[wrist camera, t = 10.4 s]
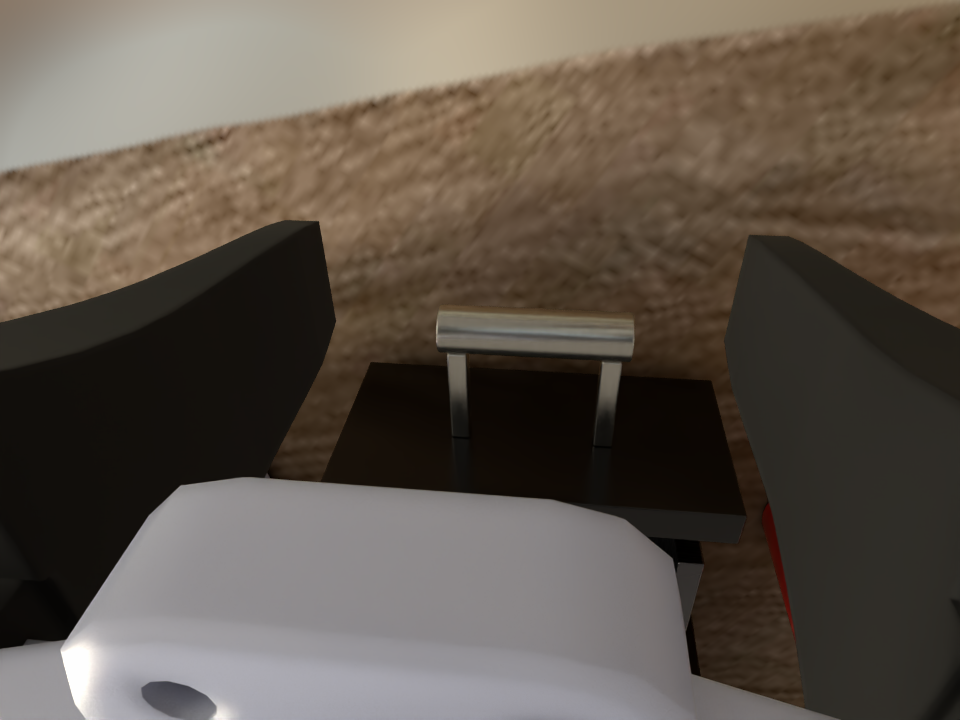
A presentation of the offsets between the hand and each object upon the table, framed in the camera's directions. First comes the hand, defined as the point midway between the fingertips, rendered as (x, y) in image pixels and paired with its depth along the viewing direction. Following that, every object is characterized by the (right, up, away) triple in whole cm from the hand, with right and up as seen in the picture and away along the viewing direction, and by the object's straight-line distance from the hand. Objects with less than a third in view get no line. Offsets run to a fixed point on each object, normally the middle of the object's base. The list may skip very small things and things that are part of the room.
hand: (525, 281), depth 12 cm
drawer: (+1, -5, +15) cm, 16 cm away
